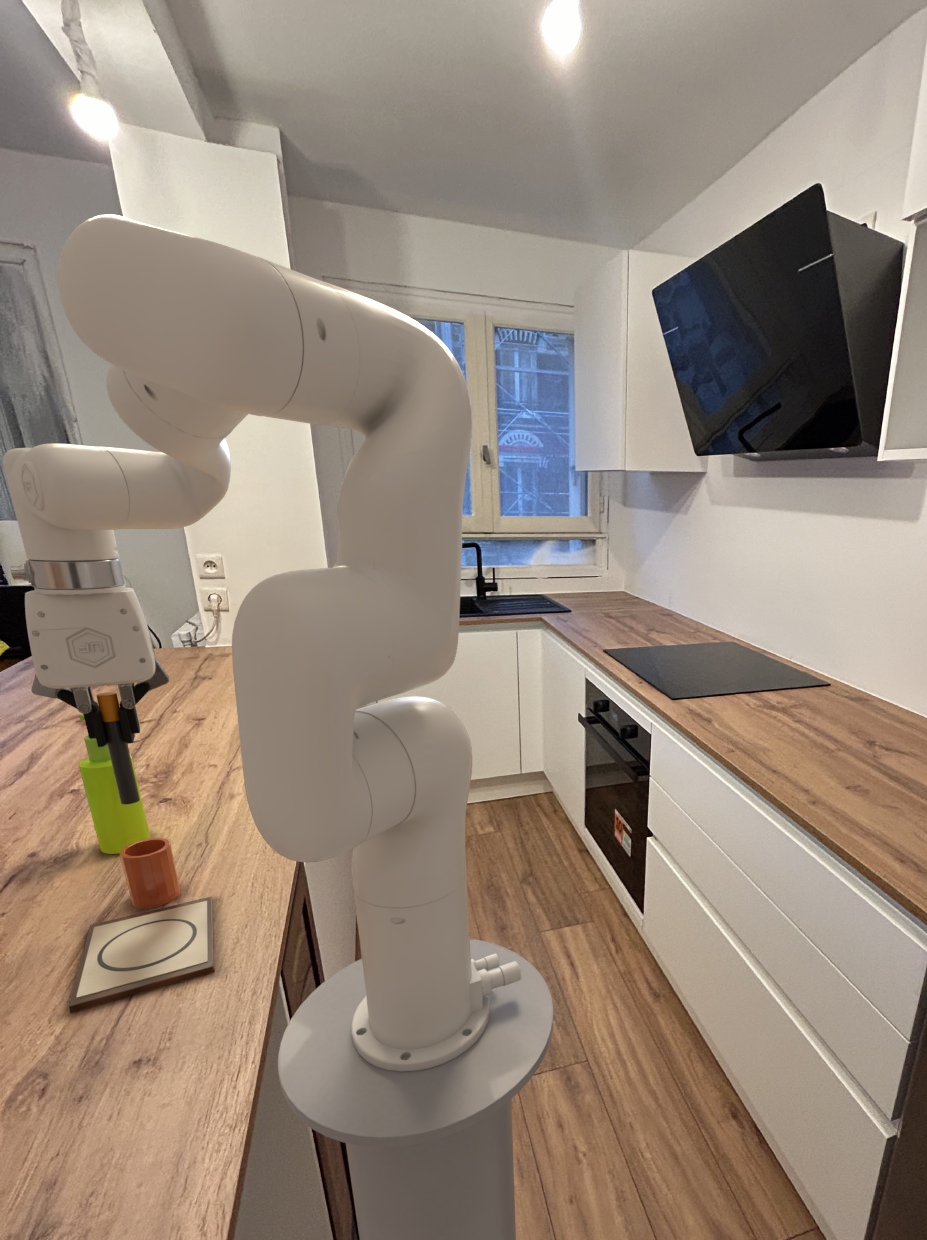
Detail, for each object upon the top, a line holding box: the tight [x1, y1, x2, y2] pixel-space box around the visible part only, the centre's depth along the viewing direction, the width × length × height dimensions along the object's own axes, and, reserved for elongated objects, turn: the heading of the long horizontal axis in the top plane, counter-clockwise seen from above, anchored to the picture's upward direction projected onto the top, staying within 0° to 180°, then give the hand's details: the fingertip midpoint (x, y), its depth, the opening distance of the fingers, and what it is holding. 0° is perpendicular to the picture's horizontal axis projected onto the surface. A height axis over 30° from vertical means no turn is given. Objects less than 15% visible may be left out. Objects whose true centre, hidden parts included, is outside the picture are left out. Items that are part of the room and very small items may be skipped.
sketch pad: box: [68, 896, 216, 1014], centre depth 71 cm, size 12×15×1 cm
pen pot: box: [119, 837, 181, 909], centre depth 80 cm, size 5×5×7 cm
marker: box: [96, 691, 140, 804], centre depth 74 cm, size 2×2×13 cm
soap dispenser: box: [78, 713, 152, 855], centre depth 90 cm, size 6×7×20 cm
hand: (117, 740), depth 73 cm, fingers closed on marker, 1 cm apart
